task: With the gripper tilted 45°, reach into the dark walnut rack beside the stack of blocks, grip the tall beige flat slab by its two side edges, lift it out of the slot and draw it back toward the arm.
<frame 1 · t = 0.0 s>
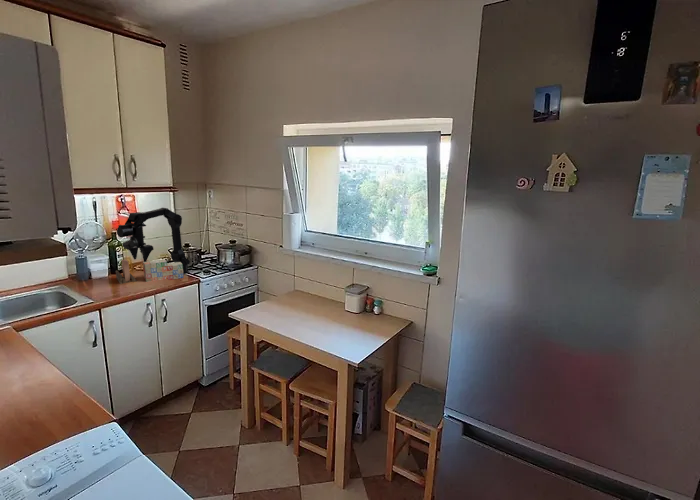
hand: (140, 260, 220), 15 cm above the counter, tool pointing down, fingers open, 9 cm apart
stack of blocks: (164, 279, 234), on the counter
beige flat slab: (126, 279, 227), point 1 cm above the counter, touching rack
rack: (127, 281, 227), on the counter
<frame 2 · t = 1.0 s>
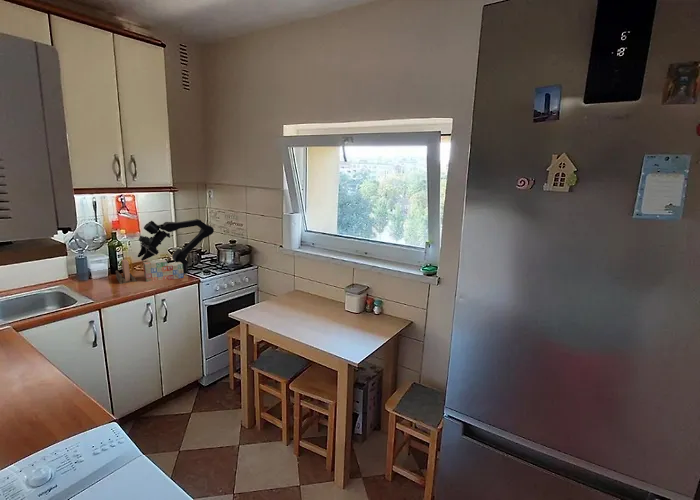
hand: (139, 258, 229), 13 cm above the counter, tool tilted 45°, fingers open, 9 cm apart
nothing on the counter moved.
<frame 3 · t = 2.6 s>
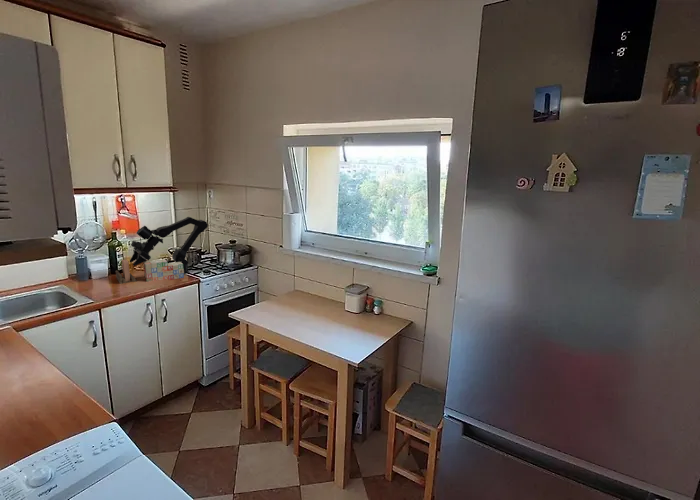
hand: (131, 263, 227), 11 cm above the counter, tool tilted 45°, fingers open, 9 cm apart
nothing on the counter moved.
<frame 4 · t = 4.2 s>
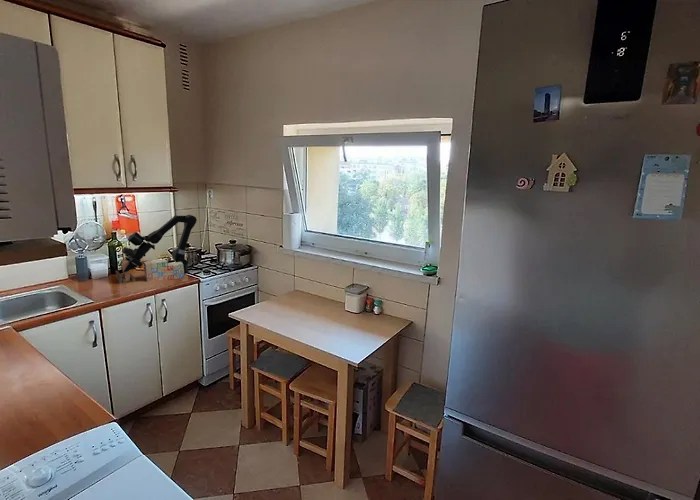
hand: (123, 270, 224), 7 cm above the counter, tool tilted 45°, fingers closed on beige flat slab, 6 cm apart
beige flat slab: (126, 279, 227), point 1 cm above the counter, touching gripper, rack
everything else where it was.
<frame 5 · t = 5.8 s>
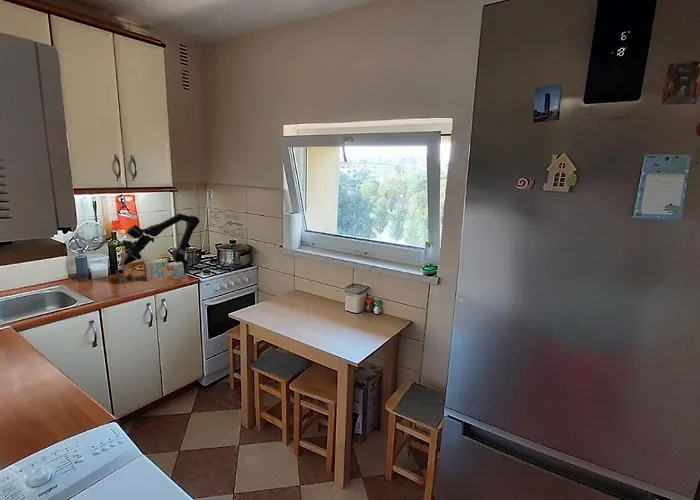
hand: (122, 263, 223), 12 cm above the counter, tool tilted 45°, fingers closed on beige flat slab, 6 cm apart
beige flat slab: (126, 272, 226), point 5 cm above the counter, touching gripper
everything else where it was.
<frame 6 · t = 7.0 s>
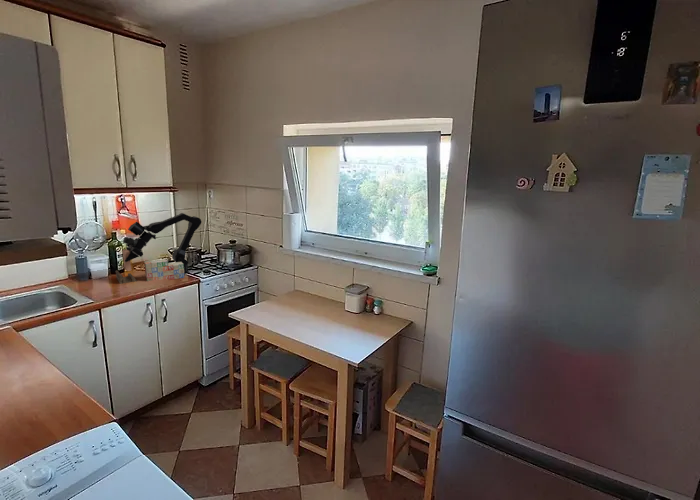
hand: (124, 260, 224), 13 cm above the counter, tool tilted 45°, fingers closed on beige flat slab, 6 cm apart
beige flat slab: (127, 269, 226), point 7 cm above the counter, touching gripper
everything else where it was.
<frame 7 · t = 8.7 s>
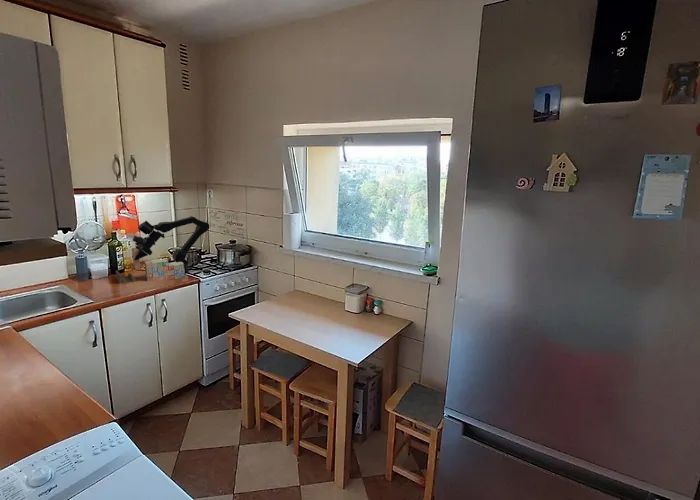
hand: (133, 258, 227), 14 cm above the counter, tool tilted 45°, fingers closed on beige flat slab, 6 cm apart
beige flat slab: (137, 268, 229), point 7 cm above the counter, touching gripper
everything else where it was.
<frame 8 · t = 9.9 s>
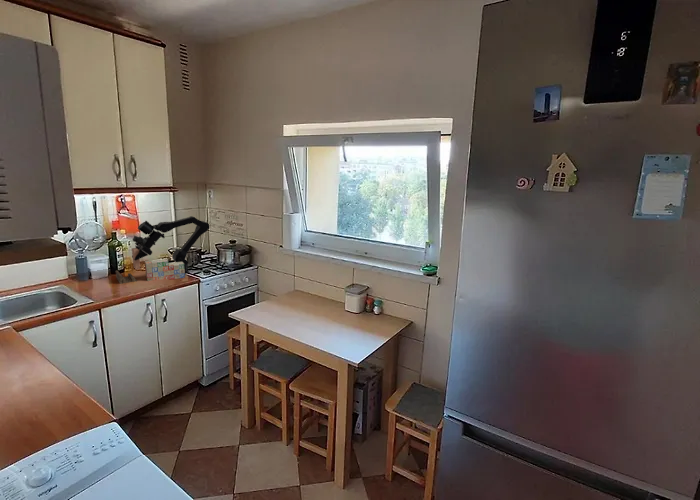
hand: (133, 258, 227), 14 cm above the counter, tool tilted 45°, fingers closed on beige flat slab, 6 cm apart
beige flat slab: (137, 268, 229), point 7 cm above the counter, touching gripper
at the end: the gripper is holding beige flat slab; beige flat slab point 7.4 cm above the counter; stack of blocks moved 1.3 cm from its start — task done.
